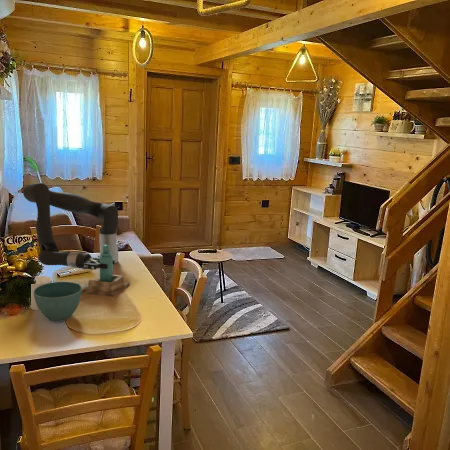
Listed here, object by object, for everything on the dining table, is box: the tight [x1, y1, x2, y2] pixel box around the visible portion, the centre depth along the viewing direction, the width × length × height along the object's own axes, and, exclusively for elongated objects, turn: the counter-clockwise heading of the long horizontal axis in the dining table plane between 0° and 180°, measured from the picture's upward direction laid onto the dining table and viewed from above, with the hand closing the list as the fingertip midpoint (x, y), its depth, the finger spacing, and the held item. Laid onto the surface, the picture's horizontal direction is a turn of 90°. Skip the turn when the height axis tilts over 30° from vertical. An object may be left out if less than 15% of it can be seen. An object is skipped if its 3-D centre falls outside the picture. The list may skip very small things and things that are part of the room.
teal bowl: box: [34, 281, 83, 323], centre depth 185 cm, size 18×18×12 cm
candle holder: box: [29, 275, 53, 311], centre depth 195 cm, size 10×10×12 cm
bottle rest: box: [82, 274, 130, 298], centre depth 219 cm, size 16×16×5 cm
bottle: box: [99, 245, 114, 283], centre depth 217 cm, size 6×6×19 cm
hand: (110, 264), depth 216 cm, fingers closed on bottle, 6 cm apart
